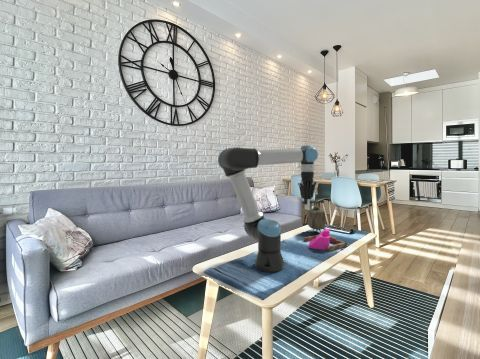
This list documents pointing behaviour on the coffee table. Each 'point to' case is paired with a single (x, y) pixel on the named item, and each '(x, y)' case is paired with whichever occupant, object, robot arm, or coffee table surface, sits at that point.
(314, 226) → the brown pump bottle
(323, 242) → the bracket
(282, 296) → the coffee table surface
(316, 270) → the coffee table surface
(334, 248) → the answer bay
